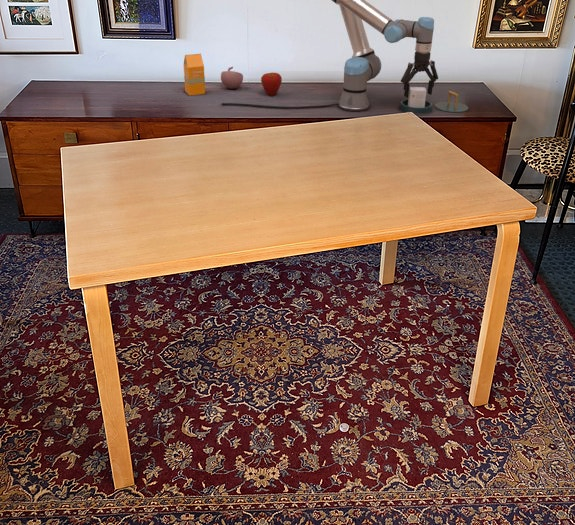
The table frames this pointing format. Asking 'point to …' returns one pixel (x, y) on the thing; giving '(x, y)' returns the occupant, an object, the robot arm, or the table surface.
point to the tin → (415, 110)
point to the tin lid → (451, 105)
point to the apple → (271, 83)
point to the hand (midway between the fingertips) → (417, 95)
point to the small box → (417, 97)
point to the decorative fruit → (231, 79)
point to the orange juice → (194, 74)
